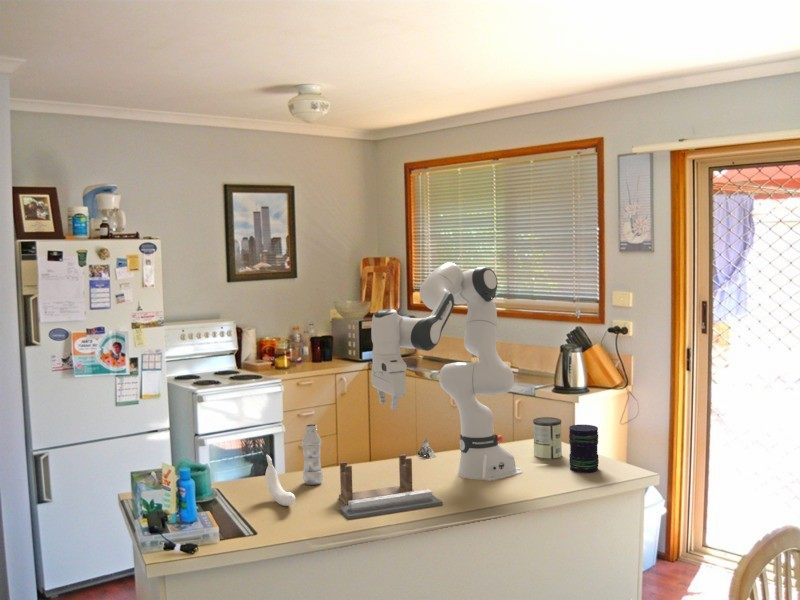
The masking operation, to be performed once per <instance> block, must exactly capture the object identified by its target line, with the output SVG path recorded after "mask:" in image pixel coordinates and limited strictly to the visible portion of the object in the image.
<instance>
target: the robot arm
mask: <svg viewBox="0 0 800 600" xmlns="http://www.w3.org/2000/svg"><path fill="white" fill-rule="evenodd" d="M497 290H498V277H497V275H496V273H495V272H494V270H492V268H490V266H489V267H488V266H478V267H476V268H472V269H467V270H464V271H462V269H461V267H460V266H458V264H455V263H453V262H445V263H443V264H440V265H439V266H438V267H437V268H435V269H434V270H433V271H432V272H431V273H430V274H429V275H428V276H427V277H426V278H425V279H424V281H423V282H422V283H421V285H420V288H419V296H420V299H421V301H422V303H423V305H425V306H426V308H428V309H429V310H430V311H431V313H430V315H429V316H426V317H421V318H420V317H419V318H417V317H404V316H401V315H400V314H398V311H397V310H396V309H394V308H385V309H380V310H378V311H375V312H374V313H373V316H372V318H371V328H370V329H371V331H370V332H371V335H370V336H371V342H372V351H371V353H372V354H371V355H372V366H371V371H370V373H371V376H370V380H371V381H370V382H371V386H372V387H373V388H375V389H377V390H376V391H377V394H378V399H379V403H380V404H381V405H382V404H383V405H384V404H386V403H387V397H386V394H387V395H389V396H390V397H391V402H390V408H391V409H392V410H398V408H399V402H400V397H401V398H402V397H405V395H406V393H407V376H406V371H408V370H407V369H408V367H407V366H408V365H407V363H406V362H405V361H404V359H403V357H402V354H401V353H402V352H401V349H402V348H403V349H412V350H413V349H415V350H419V351H425V352H428V351H431V350H433V349H434V348H435V347H437V345H438V344H439V341H440V339H441V335H442V333H443V332H442V331H444V328H445V325H446V324H447V322H448V320H449V319H450V317H451V314H452V313H453V310H454V307H457V306H461V305H465V304H466V306H467V313H466V319H465V326H464V327H465V328H464V334H463V336H464V337H463V347H464V348H465V350H466V351H467V352H469V354H471V355H473V356H475V357H477V358H478V361H476V362H474V361H473V362H470V361H469V362H468V361H466V362H464V361H455V362H451V363H447V364H446V363H445V364H444V365H443V366H442V368H441V369H440V371H439V375H438V381H439V385H440V387H441V388H442V390H443V391H444V392H445V393H447V394H448V395H449V396H450V397H451V398H452V399H453V401H454V403H455V404H456V407H457V410H458V412H459V418H460V419H459V420H460V421H459V422H460V434H459V451H460V458H459V464H458V465H459V466H458V470H457V476H459V477H462V478H464V479H469V480H481V481H488V482H490V481H494V480H500V479H505V478H508V477H513V476H517V475H520V474H523V470H522V469H521V468H520V467H519V466H516V465H517V464H516V461H515V457H514V455H513V454H512V453H511V452H510V451H508V450H507V449H506V448H504V447H503V446H501V445H500V444H499V442H500V443H502V442H503V441H504V439H505V437H504V436H503V435H501V434H496V433H494V413H493V412H492V410H491V408H489V407H488V406H487V405H485V404H483V403H481V402H480V401H479V400H478V399H477V397H476V395H477V396H478V395H479V396H480V395H481V396H483V395H484V396H497V395H503V394H504V395H505V394H508V393H509V392H510V391H511V390H512V389H513V386H514V383H515V375H514V372H513V370H512V368H511V367H510V366H509V365H508V364H506V363H505V362H504V360H502V358H501V357H500V356H499V353H498V349H497V330H498V329H497V328H498V313H497V305H496V302H495V301H494V299H495V297H496V293H497Z"/></svg>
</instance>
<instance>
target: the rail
mask: <svg viewBox="0 0 800 600" xmlns="http://www.w3.org/2000/svg"><path fill="white" fill-rule="evenodd" d="M432 495H433V491H432V490H430V489H429V488H426V489H419V490H414V491H412V492H405V493H398V494H391V495H385V496H378V497H371V498H364V499H357V500H350V501H348V504H347V506H349V510H350V511H351V512H355V511H361V510H368V509H375V508H381V507H388V506H395V505H401V504H408V503H414V502H421V501H428V500H432Z"/></svg>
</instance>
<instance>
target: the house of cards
mask: <svg viewBox="0 0 800 600" xmlns="http://www.w3.org/2000/svg"><path fill="white" fill-rule="evenodd" d="M422 443H423V446H421V447H420V449H419V450H418V452H417V454H416V456H419V457H422V458H427V459H432V458H436V457H437V456H436V454H435V451H433V448H432V447H430V445H429V443H430V442H429V439H428V438H427V437H426V438H424V439H423V442H422ZM424 455H426V456H424Z"/></svg>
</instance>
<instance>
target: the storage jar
mask: <svg viewBox="0 0 800 600" xmlns="http://www.w3.org/2000/svg"><path fill="white" fill-rule="evenodd" d="M568 429H569V434H568V439H569V441H568V442H569V449H570V450H569V455H568V456H569V459H568V460H569V470H570V471H571V472H574V473H580V474H592V473H596V472H598V471H599V454H598V444H599V427H598V426H596V425H592V424H573V425H570V426H569V428H568Z"/></svg>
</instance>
